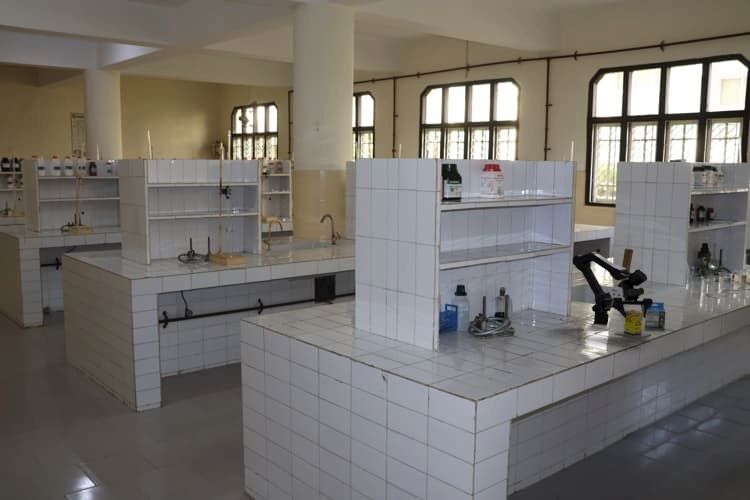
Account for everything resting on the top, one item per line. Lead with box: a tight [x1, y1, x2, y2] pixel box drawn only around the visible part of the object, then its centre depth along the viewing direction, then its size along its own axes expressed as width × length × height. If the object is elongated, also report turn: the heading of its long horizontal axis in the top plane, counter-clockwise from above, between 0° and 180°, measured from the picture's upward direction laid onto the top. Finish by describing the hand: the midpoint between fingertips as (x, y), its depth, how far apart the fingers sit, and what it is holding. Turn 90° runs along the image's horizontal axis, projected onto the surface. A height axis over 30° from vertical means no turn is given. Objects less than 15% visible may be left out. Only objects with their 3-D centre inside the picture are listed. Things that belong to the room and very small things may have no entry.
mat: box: [614, 330, 652, 340], centre depth 325 cm, size 12×12×1 cm
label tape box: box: [644, 301, 666, 328], centre depth 342 cm, size 9×4×12 cm, turn 82°
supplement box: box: [623, 309, 644, 335], centre depth 324 cm, size 6×6×11 cm
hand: (635, 317), depth 323 cm, fingers open, 9 cm apart
